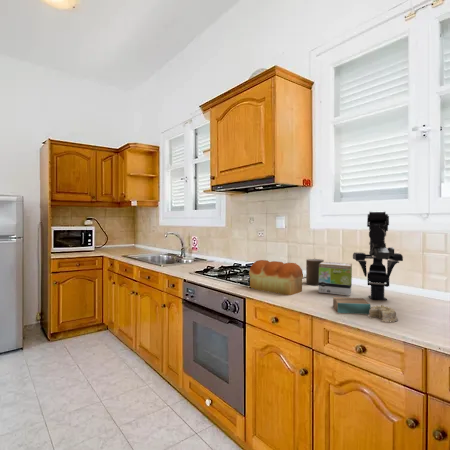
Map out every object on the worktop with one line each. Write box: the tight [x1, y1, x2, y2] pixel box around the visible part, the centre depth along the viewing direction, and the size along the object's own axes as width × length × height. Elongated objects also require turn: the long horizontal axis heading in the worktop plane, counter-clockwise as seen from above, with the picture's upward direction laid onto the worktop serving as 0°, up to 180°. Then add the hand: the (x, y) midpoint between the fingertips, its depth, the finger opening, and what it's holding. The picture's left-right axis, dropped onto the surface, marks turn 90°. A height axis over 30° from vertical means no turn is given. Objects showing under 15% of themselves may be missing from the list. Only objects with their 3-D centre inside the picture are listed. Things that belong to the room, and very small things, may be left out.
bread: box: [248, 259, 304, 296], centre depth 166 cm, size 25×12×15 cm, turn 49°
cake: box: [367, 304, 399, 323], centre depth 118 cm, size 10×10×5 cm
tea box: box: [317, 261, 353, 297], centre depth 161 cm, size 15×10×15 cm
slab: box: [332, 296, 372, 315], centre depth 129 cm, size 4×12×10 cm
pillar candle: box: [305, 258, 325, 286], centre depth 183 cm, size 10×10×15 cm
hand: (377, 276), depth 137 cm, fingers open, 9 cm apart
